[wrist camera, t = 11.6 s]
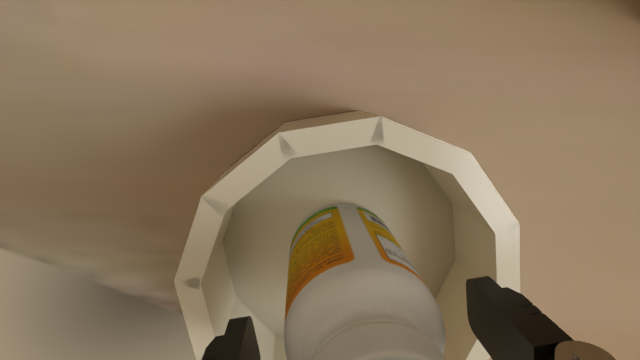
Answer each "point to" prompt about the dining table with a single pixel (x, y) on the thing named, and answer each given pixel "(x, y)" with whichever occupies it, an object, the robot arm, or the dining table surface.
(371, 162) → the bowl
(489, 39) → the dining table surface
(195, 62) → the dining table surface
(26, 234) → the dining table surface
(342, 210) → the supplement bottle
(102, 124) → the dining table surface
